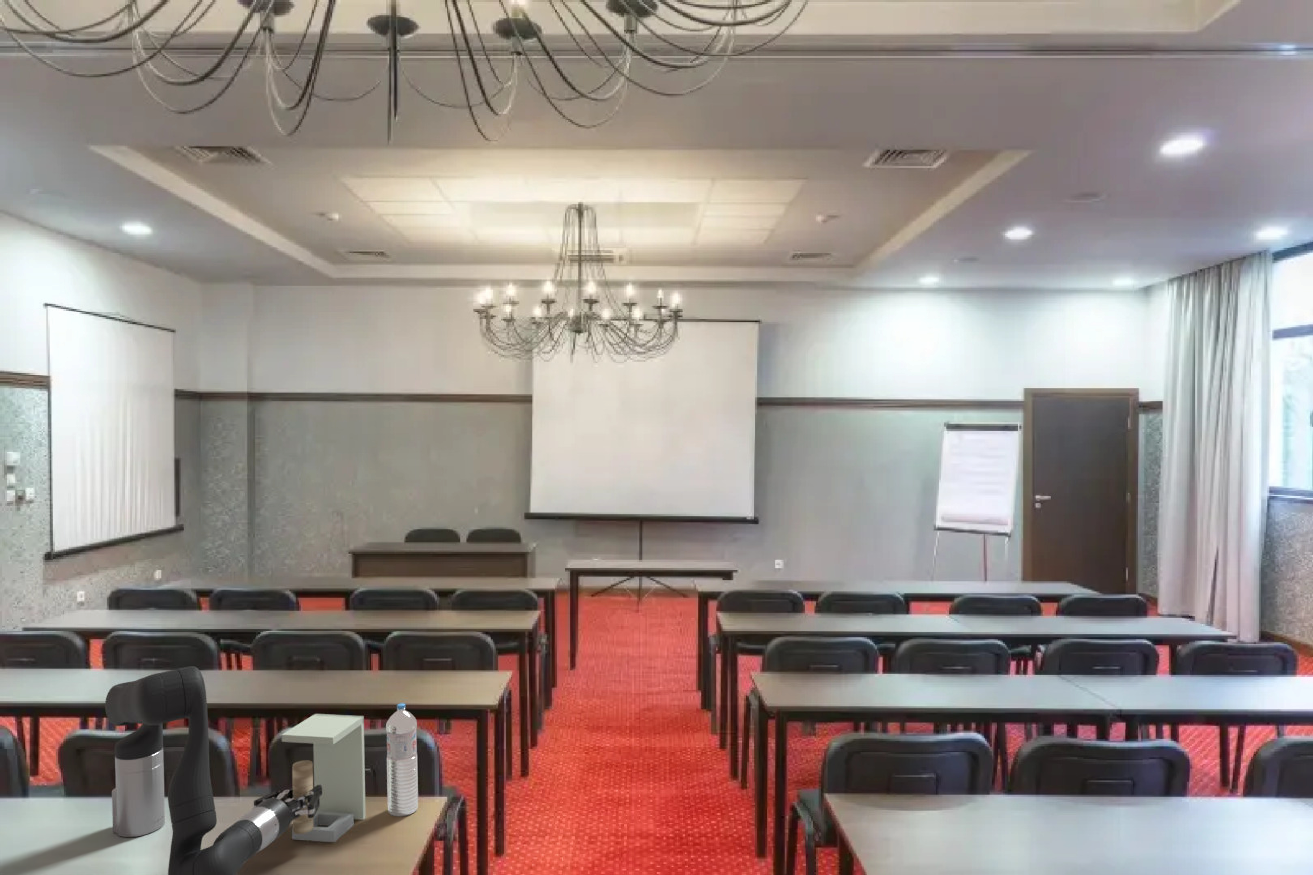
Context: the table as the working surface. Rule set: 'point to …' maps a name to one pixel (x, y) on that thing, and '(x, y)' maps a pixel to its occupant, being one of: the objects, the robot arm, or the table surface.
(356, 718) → the socket stand
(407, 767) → the water bottle
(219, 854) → the robot arm
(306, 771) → the peg
